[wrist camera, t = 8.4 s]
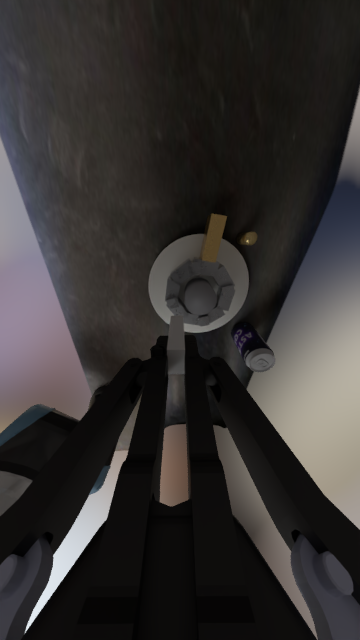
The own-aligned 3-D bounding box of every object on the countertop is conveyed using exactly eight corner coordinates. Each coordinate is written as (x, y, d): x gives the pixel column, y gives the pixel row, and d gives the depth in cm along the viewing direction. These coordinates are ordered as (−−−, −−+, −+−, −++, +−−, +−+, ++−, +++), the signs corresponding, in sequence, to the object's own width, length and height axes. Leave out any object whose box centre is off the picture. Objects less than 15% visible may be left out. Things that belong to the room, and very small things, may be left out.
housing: (210, 341, 41) (215, 360, 35) (136, 306, 37) (125, 321, 30) (267, 269, 32) (289, 276, 25) (177, 209, 27) (175, 200, 21)
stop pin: (241, 246, 30) (251, 247, 26) (233, 241, 30) (242, 241, 25) (248, 236, 29) (259, 235, 25) (240, 230, 29) (250, 229, 24)
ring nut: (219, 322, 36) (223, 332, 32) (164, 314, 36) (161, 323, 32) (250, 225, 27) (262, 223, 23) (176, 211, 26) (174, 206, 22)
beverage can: (242, 316, 38) (264, 346, 27) (256, 328, 39) (283, 361, 29) (225, 331, 40) (241, 365, 29) (240, 342, 41) (259, 377, 31)
